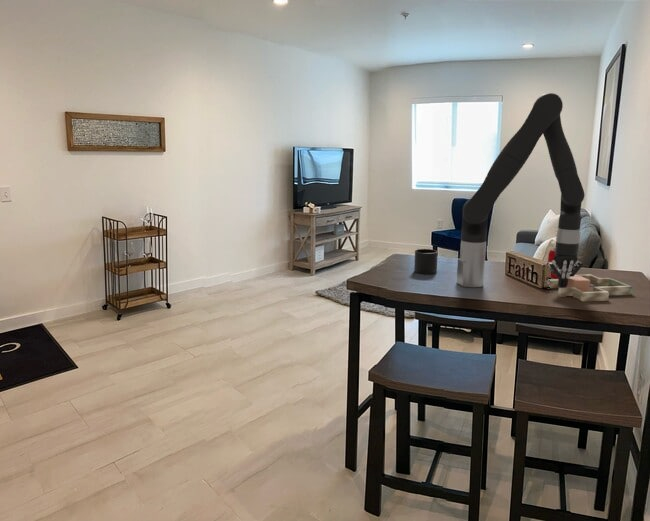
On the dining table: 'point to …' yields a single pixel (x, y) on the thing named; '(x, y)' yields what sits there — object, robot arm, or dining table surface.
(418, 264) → the mug
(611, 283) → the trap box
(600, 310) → the dining table surface
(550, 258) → the beverage can
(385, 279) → the dining table surface
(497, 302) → the dining table surface
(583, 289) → the block
